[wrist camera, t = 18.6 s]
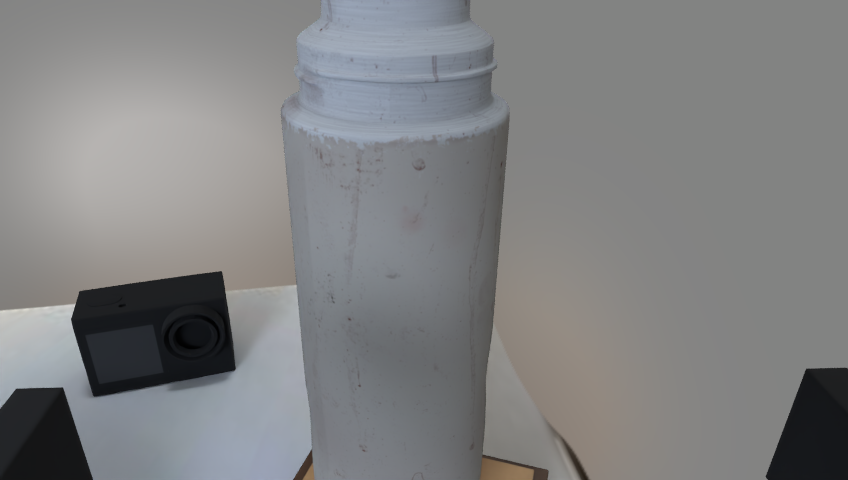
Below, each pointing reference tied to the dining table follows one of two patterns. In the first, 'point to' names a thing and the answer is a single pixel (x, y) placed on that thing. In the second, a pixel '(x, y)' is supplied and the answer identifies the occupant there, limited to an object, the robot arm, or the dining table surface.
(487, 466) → the stand
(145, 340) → the digital camera
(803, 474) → the robot arm
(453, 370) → the thermos bottle
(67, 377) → the dining table surface
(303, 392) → the dining table surface
